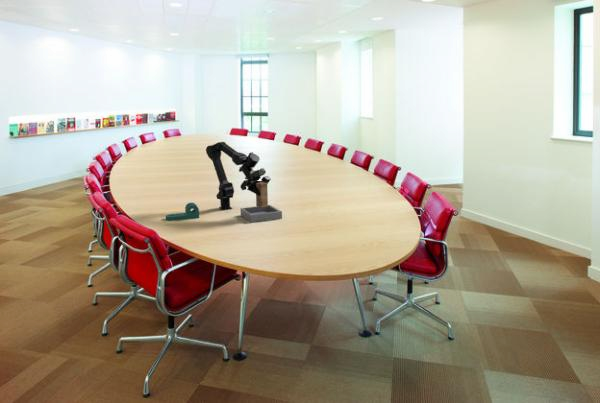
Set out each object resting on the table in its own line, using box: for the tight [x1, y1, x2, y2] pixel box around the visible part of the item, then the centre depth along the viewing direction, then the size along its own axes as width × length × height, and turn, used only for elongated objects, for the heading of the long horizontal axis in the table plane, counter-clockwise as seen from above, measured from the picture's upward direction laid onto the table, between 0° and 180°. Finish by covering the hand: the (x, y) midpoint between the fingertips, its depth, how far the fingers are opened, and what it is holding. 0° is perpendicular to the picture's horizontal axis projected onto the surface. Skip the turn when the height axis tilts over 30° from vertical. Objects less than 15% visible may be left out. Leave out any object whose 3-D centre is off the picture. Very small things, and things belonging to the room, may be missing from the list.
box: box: [239, 204, 283, 224], centre depth 270 cm, size 18×18×4 cm
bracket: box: [164, 202, 200, 222], centre depth 269 cm, size 18×7×8 cm, turn 109°
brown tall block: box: [255, 182, 269, 207], centre depth 267 cm, size 4×4×13 cm
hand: (263, 194), depth 266 cm, fingers closed on brown tall block, 4 cm apart
